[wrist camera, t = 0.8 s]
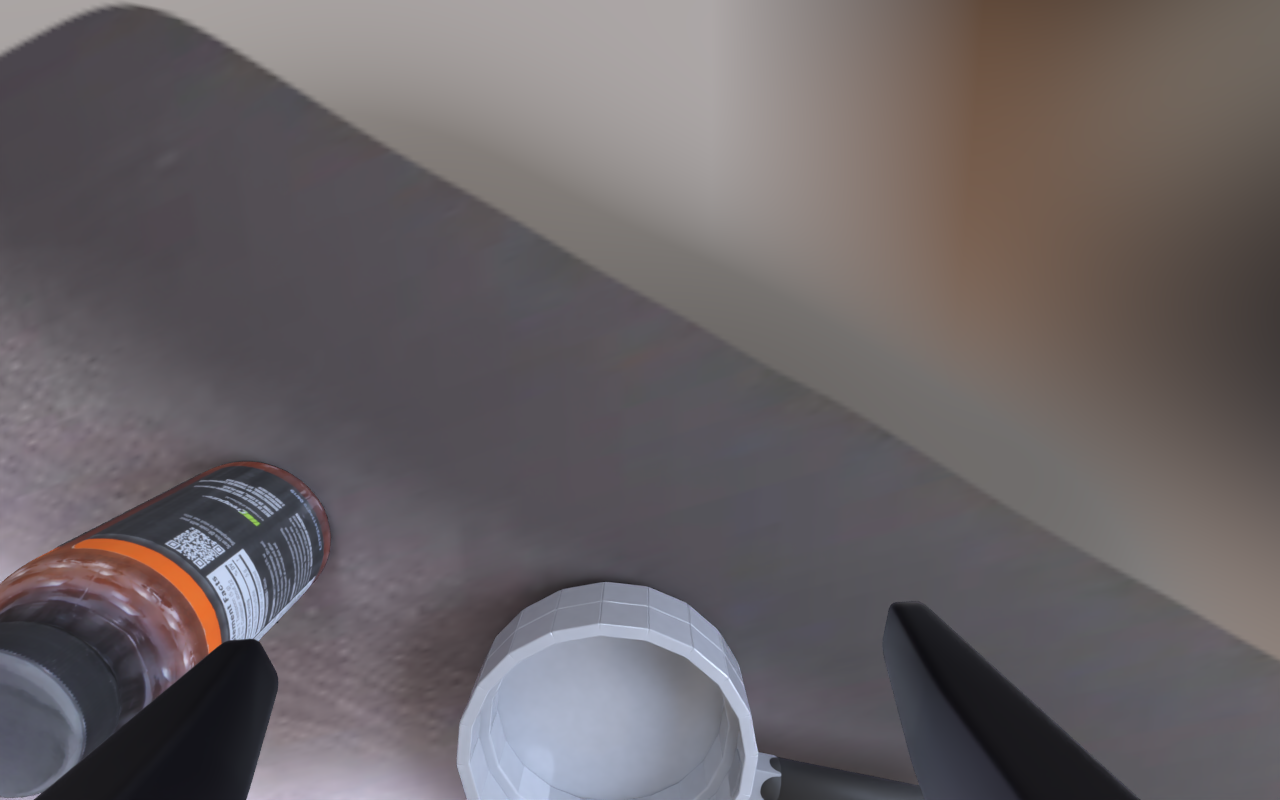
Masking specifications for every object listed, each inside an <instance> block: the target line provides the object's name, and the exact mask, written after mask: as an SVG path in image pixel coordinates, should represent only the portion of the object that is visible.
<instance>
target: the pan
mask: <svg viewBox="0 0 1280 800" xmlns="http://www.w3.org/2000/svg"><path fill="white" fill-rule="evenodd" d="M737 748H738V751H739V756H740V761H741V773H740V779H739V784H738V789H737V791H736V793H735V794H734V796H733V797H731V793H730V787H729V781H728V775H729V772H730V769H731V765H732V762H733V759H734V756H735V752H736V749H737ZM757 760H758V749H757V744H756V738H755V733H754V728H753V722H752V717H751V712H750V708H749V704H748V700H747V695H746V691H745V687H744V683H743V679H742V675H741V670H740V667H739V664H738V662H737V660H736V659H735V657H734V655H733V653H732V652H731V650H730V648H729V647H728V645H727V643H726V642H725V640H724V638H723V636H722V635H721V633H720V632H718V630H717V629H716V628H715V627H714V626H713V625H712V624H710V623H709V622H708V621H707V620H706V619H705V618H704V617H702V616H701V615H700V614H699V613H698V612H697V611H695V610H694V609H693V608H692V607H691V606H690V605H687V603H685V602H683V601H681V600H678V599H676V598H674V597H671V596H669V595H667V594H664V593H662V592H660V591H657V590H655V589H653V588H650V587H647V586H640V585H631V584H622V583H613V582H600V583H594V584H589V585H583V586H577V587H572V588H566V589H562V590H560V591H558V592H556V593H554V594H552V595H550V596H548V597H546V598H544V599H542V600H540V601H538V602H536V603H534V604H532V605H530V606H529V607H527V608H525V609H523V610H522V611H521V612H520V613H519V614H518V615H517V616H516V617H515V618H514V619H513V620H512V621H511V622H510V623H509V624H508V625H507V626H506V627H505V628H504V629H503V630H502V631H501V632H500V633H499V634H498V635H497V636H496V638H495V640H494V641H493V643H492V645H491V648H490V650H489V652H488V654H487V656H486V658H485V661H484V663H483V665H482V667H481V669H480V671H479V674H478V676H477V679H476V682H475V684H474V687H473V689H472V692H471V695H470V697H469V700H468V702H467V705H466V707H465V710H464V712H463V715H462V717H461V720H460V724H459V733H458V747H457V761H456V763H457V769H458V772H459V775H460V779H461V782H462V785H463V789H464V792H465V796H466V799H467V800H749V798H750V795H751V793H752V788H753V782H754V777H755V771H756V766H757Z"/></svg>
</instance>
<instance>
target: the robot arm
mask: <svg viewBox="0 0 1280 800" xmlns="http://www.w3.org/2000/svg"><path fill="white" fill-rule="evenodd" d="M883 654H884V659H885V663H886V667H887V671H888V674H889V678H890V682H891V686H892V690H893V694H894V697H895V701H896V705H897V709H898V713H899V717H900V720H901V724H902V728H903V732H904V736H905V739H906V743H907V747H908V751H909V754H910V758H911V761H912V765H913V768H914V771H915V774H916V777H917V779H918V782H919V785H920V788H921V790H922V793H923V796H924V798H925V800H1140V799H1139V798H1138V797H1137V796H1136V795H1135V794H1134V793H1133V792H1131V791H1130V790H1129V789H1128V788H1127V787H1126V786H1125V785H1124V784H1123V783H1122V782H1120V781H1119V780H1118V779H1117V778H1116V777H1115V776H1114V775H1113V774H1112V773H1110V772H1109V771H1108V770H1107V769H1106V768H1105V767H1104V766H1103V765H1102V764H1101V763H1099V762H1098V761H1097V760H1096V759H1095V758H1094V757H1093V756H1092V755H1091V754H1090V753H1088V752H1087V751H1086V750H1085V749H1084V748H1083V747H1082V746H1081V745H1080V744H1078V743H1077V742H1076V741H1075V740H1074V739H1073V738H1072V737H1071V736H1070V735H1069V734H1067V733H1066V732H1065V731H1064V730H1063V729H1062V728H1061V727H1060V726H1059V725H1058V724H1056V723H1055V722H1054V721H1053V720H1052V719H1051V718H1050V717H1049V716H1048V715H1046V714H1045V713H1044V712H1043V711H1042V710H1041V709H1040V708H1039V707H1038V706H1037V705H1035V704H1034V703H1033V702H1032V701H1031V700H1030V699H1029V698H1028V697H1027V696H1025V695H1024V694H1023V693H1022V692H1021V691H1020V690H1019V689H1018V688H1017V687H1016V686H1014V685H1013V684H1012V683H1011V682H1010V681H1009V680H1008V679H1007V678H1006V677H1005V676H1003V675H1002V674H1001V673H1000V672H999V671H998V670H997V669H996V668H995V667H993V666H992V665H991V664H990V663H989V662H988V661H987V660H986V659H985V658H984V657H982V656H981V655H980V654H979V653H978V652H977V651H976V650H975V649H974V648H973V647H971V646H970V645H969V644H968V643H967V642H966V641H965V640H964V639H963V638H961V637H960V636H959V635H958V634H957V633H956V632H955V631H954V630H953V629H952V628H950V627H949V626H948V625H947V624H946V623H945V622H944V621H943V620H942V619H941V618H939V617H938V616H937V615H936V614H935V613H934V612H933V611H932V610H931V609H929V608H928V607H927V606H926V605H925V604H923V603H921V602H917V601H911V602H896V603H893V604H892V605H891V606H890V608H889V611H888V616H887V621H886V626H885V631H884V636H883ZM277 690H278V676H277V673H276V670H275V669H274V667H273V665H272V663H271V661H270V659H269V658H268V656H267V654H266V652H265V650H264V649H263V647H262V645H261V644H260V642H259V641H257V640H255V639H238V640H229V641H226V642H224V643H222V644H221V645H219V646H218V647H217V648H215V649H214V650H213V651H212V652H211V653H209V654H208V655H207V656H206V657H205V658H203V659H202V660H201V661H200V662H199V663H197V664H196V665H195V666H194V667H193V668H191V669H190V670H189V671H188V672H187V673H185V674H184V675H183V676H182V677H181V678H179V679H178V680H177V681H176V682H175V683H173V684H172V685H171V686H170V687H169V688H167V689H166V690H165V691H164V692H163V693H161V694H160V695H159V696H158V697H157V698H155V699H154V700H153V701H152V702H151V703H149V704H148V705H147V706H146V707H145V708H143V709H142V710H141V711H140V712H139V713H137V714H136V715H135V716H134V717H133V718H131V719H130V720H129V721H128V722H127V723H125V724H124V725H123V726H122V727H121V728H119V729H118V730H117V731H116V732H115V733H113V734H112V735H111V736H110V737H109V738H107V739H106V740H105V741H104V742H103V743H101V744H100V745H99V746H98V747H97V748H95V749H94V750H93V751H92V752H91V753H89V754H88V755H87V756H86V757H85V758H83V759H82V760H81V761H80V762H79V763H77V764H76V765H75V766H74V767H73V768H71V769H70V770H69V771H68V772H67V773H65V774H64V775H63V776H62V777H61V778H59V779H58V780H57V781H56V782H54V783H53V784H52V785H51V786H50V787H48V788H47V789H46V790H45V791H44V792H42V793H41V794H40V795H39V796H38V797H36V798H35V799H34V800H246V798H247V795H248V792H249V789H250V786H251V783H252V779H253V776H254V772H255V768H256V765H257V761H258V758H259V754H260V751H261V747H262V744H263V740H264V737H265V733H266V730H267V726H268V723H269V719H270V716H271V712H272V708H273V705H274V701H275V698H276V694H277Z"/></svg>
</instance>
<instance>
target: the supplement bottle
mask: <svg viewBox="0 0 1280 800" xmlns="http://www.w3.org/2000/svg"><path fill="white" fill-rule="evenodd" d="M330 541H331V533H330V527H329V522H328V517H327V515H326V513H325V510H324V508H323V506H322V504H321V503H320V501H319V499H318V498H317V497H316V496H315V494H314V493H313V492H312V491H311V490H310V489H309V487H308V486H306V485H305V484H304V483H303V482H302V481H301V480H299V479H298V478H296V477H295V476H294V475H292V474H290V473H289V472H287V471H285V470H283V469H280V468H278V467H275V466H272V465H269V464H265V463H259V462H234V463H228V464H224V465H221V466H218V467H215V468H212V469H210V470H208V471H206V472H204V473H202V474H199V475H197V476H195V477H193V478H191V479H189V480H187V481H185V482H183V483H181V484H179V485H177V486H175V487H173V488H171V489H170V490H168V491H166V492H164V493H162V494H160V495H158V496H156V497H154V498H152V499H150V500H148V501H146V502H144V503H142V504H140V505H138V506H137V507H135V508H133V509H131V510H129V511H126V512H125V513H123V514H121V515H119V516H117V517H115V518H113V519H111V520H109V521H108V522H105V523H103V524H101V525H100V526H98V527H96V528H94V529H91V530H90V531H88V532H85V533H83V534H81V535H80V536H78V537H76V538H74V539H72V540H70V541H68V542H66V543H64V544H62V545H60V546H58V547H57V548H55V549H54V550H52V551H50V552H48V553H46V554H44V555H42V556H40V557H38V558H36V559H34V560H32V561H31V562H29V563H27V564H26V565H24V566H23V567H21V568H20V569H18V570H17V571H15V572H14V573H12V574H11V575H10V576H8V577H7V578H6V579H5V580H4V581H3V582H2V583H1V584H0V797H4V798H16V797H27V796H32V795H36V794H39V793H42V792H44V791H45V790H46V789H47V788H48V787H50V786H51V785H52V784H53V783H54V782H56V781H57V780H58V779H59V778H61V777H62V776H63V775H64V774H65V773H67V772H68V771H69V770H70V769H71V768H73V767H74V766H75V765H76V764H77V763H79V762H80V761H81V760H82V759H83V758H85V757H86V756H87V755H88V754H89V753H91V752H92V751H93V750H94V749H95V748H97V747H98V746H99V745H100V744H101V743H103V742H104V741H105V740H106V739H107V738H109V737H110V736H111V735H112V734H113V733H115V732H116V731H117V730H118V729H119V728H121V727H122V726H123V725H124V724H125V723H127V722H128V721H129V720H130V719H131V718H133V717H134V716H135V715H136V714H137V713H139V712H140V711H141V710H142V709H143V708H145V707H146V706H147V705H148V704H149V703H151V702H152V701H153V700H154V699H155V698H157V697H158V696H159V695H160V694H161V693H163V692H164V691H165V690H166V689H167V688H169V687H170V686H171V685H172V684H173V683H175V682H176V681H177V680H178V679H179V678H181V677H182V676H183V675H184V674H185V673H187V672H188V671H189V670H190V669H191V668H193V667H194V666H195V665H196V664H197V663H199V662H200V661H201V660H202V659H203V658H205V657H206V656H207V655H208V654H209V653H211V652H212V651H213V650H214V649H215V648H217V647H218V646H219V645H221V644H222V643H224V642H226V641H229V640H238V639H255V640H257V641H259V640H260V639H261V637H262V636H263V635H264V634H265V633H266V632H267V631H268V630H269V629H270V628H271V627H272V626H273V625H274V624H276V623H278V621H279V619H280V618H281V617H282V616H283V615H284V614H285V613H286V612H287V611H288V610H289V609H290V608H291V606H292V605H293V604H294V603H295V602H297V600H298V599H299V598H300V597H301V596H302V595H303V594H304V593H305V592H306V590H307V589H308V588H309V587H310V585H311V584H312V583H313V582H314V581H315V580H316V579H317V577H318V576H319V575H320V573H321V572H322V570H323V568H324V566H325V564H326V562H327V560H328V556H329V552H330Z"/></svg>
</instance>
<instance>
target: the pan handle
mask: <svg viewBox="0 0 1280 800" xmlns="http://www.w3.org/2000/svg"><path fill="white" fill-rule="evenodd" d="M740 773H741V761H740V756H739V751H738V748H737V749H736V752H735V756H734V759H733V762H732V765H731V769H730V772H729V775H728V781H729V787H730V793H731V797H733V796H734V794H735V793H736V791H737V789H738V784H739V779H740ZM749 800H925V798H924V796H923V793H922V790H921V788H920V786H919V785H914V784H909V783H904V782H899V781H894V780H889V779H884V778H879V777H874V776H869V775H864V774H859V773H854V772H849V771H844V770H839V769H834V768H829V767H824V766H819V765H814V764H809V763H804V762H799V761H794V760H790V759H785V758H780V757H776V756H775V755H770V754H765V753H760V752H758V760H757V766H756V771H755V777H754V782H753V788H752V793H751V795H750V798H749Z"/></svg>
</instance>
